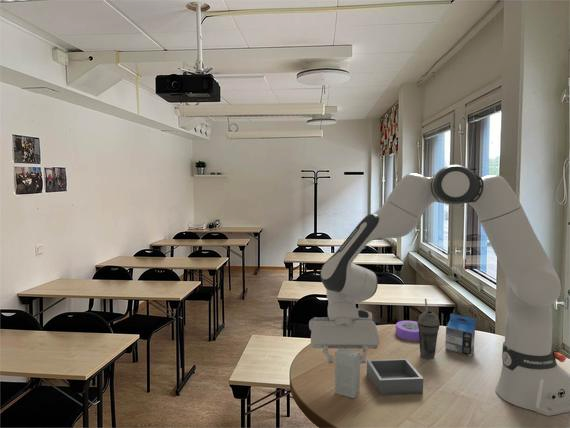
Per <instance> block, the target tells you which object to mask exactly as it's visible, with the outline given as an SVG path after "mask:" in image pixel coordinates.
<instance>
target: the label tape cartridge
mask: <svg viewBox="0 0 570 428" xmlns="http://www.w3.org/2000/svg"><path fill="white" fill-rule="evenodd" d="M462 319H463V320H464V321H463V320H462ZM475 334H476V318H473V317H468V316H463V315H459V314H455V313H450V314H449V321H448V322H447V324H446V327H445V350H447V351H450V352H454V353H458V354H462V355H465V356H469V357H472V356H473V355H474V353H475V338H476V337H475V336H476V335H475ZM472 354H473V355H472Z"/></svg>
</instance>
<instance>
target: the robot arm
mask: <svg viewBox="0 0 570 428" xmlns="http://www.w3.org/2000/svg"><path fill="white" fill-rule="evenodd" d="M434 202H435V203H440V204H444V205H448V206H456V205H461V204H468V205H470V206H471V207H472V208H473V209H474V211H475V213H476V215H477V218H478V220H479V223H481V227H482V228H483V230H484V233H485V234H486V237H487V239H488V242H489V244H490V246H491V248H492V250H493V252H494V254H495V256H496V258H497V260H498V262H499V264H500V265H499V266H500V267H501V269H502V272H503V273H504V275H505V330H504V331H505V332H504V342H502V343H503V344H502V352H501V353H502V354H501V357H502V359H501V360H502V366H501V370H500V376H499V379H498V382H497V385H496V387H495V392H496V393H497V395H498V396H499V397H500V398H501V399H503V400H504V401H506V402H508V403H509V404H512V405H514V406H516V407H519V408H523V409H526V410H531V411H534V412H536V413H538V414H542V415H545V416H548V417H549V416H554V415H555V416H556V415H559V414H560V415H561V414H564V413H570V412H569V411H570V373H569V372H568V371H567V370H565V369H564V367H561V366H560V365H559V364H558V363H557V361H556V360H558V361H559V362H560V363H564V362H566V359H567V357H566V355H564V354H562V353H561V352H556V351H555V350H554V349H552V342H553V330H554V329H553V326H554V323H553V317H552V304H554V303H555V302H557V300H558V299H559V298H560V296H561V292H562V287H561V286H562V285H561V279H560V278H559V275H558V273H557V271H556V269H555V267H554V266H553V263H552V262H551V259H550V258H549V256H548V255H547V252H546V251H545V249H544V247H543V245H542V243H541V241H540V240H539V238H538V236H537V235H536V233H535V231H534V229H533V226H532V224H531V222H530V221H529V218H528V216H527V214H526V212H525V209H524V208H523V205H522V203H521V202H520V200H519V198H518V197H517V195H516V193H515V191H514V190H513V188H512V187H511V186H510V184H509V182H508V181H507V180H506V179H505V178H504V177H503V176H501V175H497V174H489V175H485V176H480V175H478V174H477V173H475V172H474V171H472V170H471V169H469V168H468V167H466V166H463V165H459V164H450V165H446V166H444V167H442V168H440V169H439V170H437V171H436V173H435V174H433V175H431V176H430V177H428V176H425V175H423V174H419V173H412V172H411V173H408V174H406V175H404V176H403V177H402V178H401V180H400V181H399V182H397V185H395V187H393V190H392V191H391V192H390V193H389V195H388V197H387V198H386V200H385V201H384V203H383V204H382V205H381V206H380V208H379V209H378V210H376V211H375V212H373V213H369V214H368V215H366V216H365V217H364V218H363V219H361V220H360V222H359V223H358V224H356V225H357V226H355V227H354V229H353V230H352V232H351V233H350V234H349V235H348V237H347V238H345V240H344V241H343V243H342V244H341V245H340V246H339V248H338V249H337V250H336V252H334V253H333V254H332V256H330V257H329V258H328V259H327V260H326V261H325V262H324V263H323V265H322V267H321V269H320V273H319V274H320V276H319V277H320V280H321V283H322V284H323V286H324V289H326V290H325V291H326V300H327V301H328V305H327V316H325V317H324V316H323V317H316V316H315V317H313V318H311V319H310V320H309V322H308V328H309V330H310V331H311V333H310V346H311V347H312V348H313V349H322V353H323V354H324V355H325V357H326V361H327V364H333V362H334V360H333V359H334V358H333V355H332V354H330V353H329V351H328V350H329V349H336V350H337V349H338V350H339V349H340V348H345V349H349V350H353V349H354V350H355V349H356V350H358V349H359V350H361V349H362V353H363V354H362V355H361V354H360V364H367V359H366V358H367V357H366V355H367V354H368V352H369V350H371V349H372V350H373V349H374V350H375V349H377V348H378V347H379V346H380V343H381V342H380V341H381V340H380V335H379V334H380V333H379V331H378V327H377V325H376V323H375V321H373V314H372V312H370V311H367V310H364V309H361V308H357V306H356V305H357V303H362V302H364V301H367V300H369V299H371V298H372V297H373V296H374V295H375V294H376V292H377V290H378V281H379V280H378V277H377V274H376V273H375V272H374V271H373V270H371V269H368V268H366V267H364V266H361V265H358V264H355V263H353V262H354V261H355V260H356V258H357V257H358V256H359V254H360V253H361V252H362V250H363V249H365V248H366V246H367V245H368V244H369V243H370V242H371V241H374V240H378V239H387V238H388V239H397V238H398V239H399V238H402V237H405V236H408V235H409V234H410V233H411V232H412V231H413V230H414V229H415V228H416V226H417V225H418V223H419V221H420V219H421V218H422V217H423V214H425V211H426V209H427V208H428V207H429V206H430V205H431V204H433V203H434Z"/></svg>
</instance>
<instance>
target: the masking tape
mask: <svg viewBox="0 0 570 428" xmlns="http://www.w3.org/2000/svg"><path fill="white" fill-rule="evenodd" d="M417 322H418V321H414V320H401V321H398V322H396V324H395V335H396V336H397V337H399V338H400V339H403V340H406V341H410V342H411V341H414V342H417V341H419V329H418V323H417Z"/></svg>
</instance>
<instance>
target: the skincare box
mask: <svg viewBox="0 0 570 428" xmlns="http://www.w3.org/2000/svg"><path fill="white" fill-rule="evenodd" d="M360 355H361V352H360V351H358V350H357V351H356V350H353V349H345V348H340V349H338V350H337V351H335V352H334V374H335V375H334V393H335V394H336V395H341V396H344V397H348V398H351V399H355V398H356V397H357V396H358V395H359V394H360V392H361V390H360V386H361V384H360V381H361V377H360V376H361V371H360V370H361V363H360Z"/></svg>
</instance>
